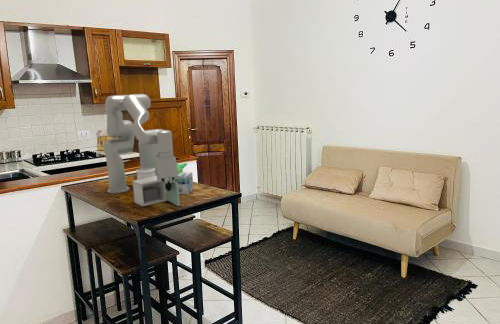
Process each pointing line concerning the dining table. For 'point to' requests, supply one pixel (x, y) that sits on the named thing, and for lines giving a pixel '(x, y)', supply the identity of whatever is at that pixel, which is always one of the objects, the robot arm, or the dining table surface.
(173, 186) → the door
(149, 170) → the jar
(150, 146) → the cylinder vase
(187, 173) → the light bulb box
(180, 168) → the toy bird
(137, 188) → the housing
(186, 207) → the dining table surface
